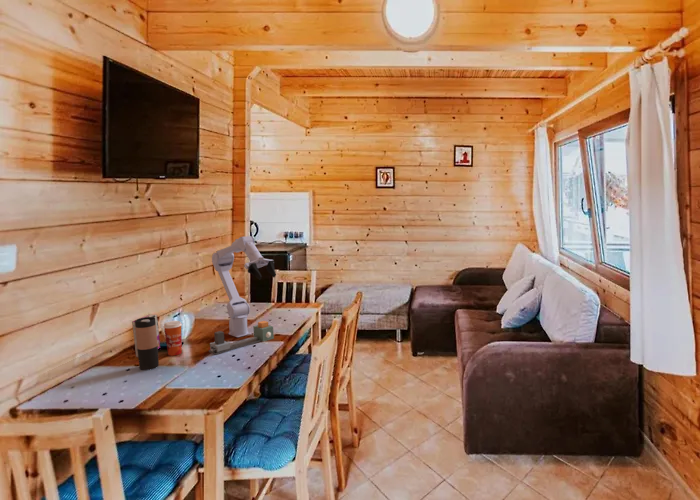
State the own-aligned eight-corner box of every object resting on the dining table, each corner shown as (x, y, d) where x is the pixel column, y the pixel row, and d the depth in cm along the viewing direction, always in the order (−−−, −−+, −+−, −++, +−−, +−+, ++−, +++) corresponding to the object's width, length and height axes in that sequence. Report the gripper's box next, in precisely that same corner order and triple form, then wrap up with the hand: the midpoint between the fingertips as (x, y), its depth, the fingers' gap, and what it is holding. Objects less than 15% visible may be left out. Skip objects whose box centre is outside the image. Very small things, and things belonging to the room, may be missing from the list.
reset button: (258, 329, 209) (257, 322, 209) (264, 327, 212) (264, 320, 211) (262, 330, 207) (261, 323, 206) (268, 329, 209) (268, 322, 209)
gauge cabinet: (254, 338, 210) (253, 326, 210) (264, 335, 215) (263, 323, 214) (263, 341, 205) (262, 329, 204) (274, 338, 209) (273, 326, 208)
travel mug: (143, 364, 181) (139, 317, 178) (162, 362, 181) (158, 316, 179) (135, 371, 173) (131, 322, 171) (155, 369, 174) (151, 321, 171)
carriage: (210, 348, 194) (209, 332, 193) (222, 345, 198) (221, 329, 197) (217, 351, 189) (216, 335, 188) (230, 348, 193) (229, 332, 192)
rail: (208, 351, 193) (208, 347, 193) (253, 339, 209) (253, 335, 209) (215, 354, 189) (214, 350, 189) (260, 341, 205) (260, 337, 205)
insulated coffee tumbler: (151, 348, 200) (148, 314, 198) (161, 349, 199) (158, 314, 197) (134, 357, 189) (131, 321, 187) (144, 358, 188) (141, 321, 186)
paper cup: (166, 357, 187) (163, 326, 186) (164, 352, 194) (162, 322, 193) (185, 354, 191) (183, 323, 189) (183, 349, 198) (181, 319, 196)
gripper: (243, 251, 193) (256, 273, 187) (270, 248, 203) (284, 269, 197) (238, 262, 197) (251, 284, 191) (265, 258, 207) (278, 279, 201)
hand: (267, 277), depth 194 cm, fingers open, 7 cm apart
